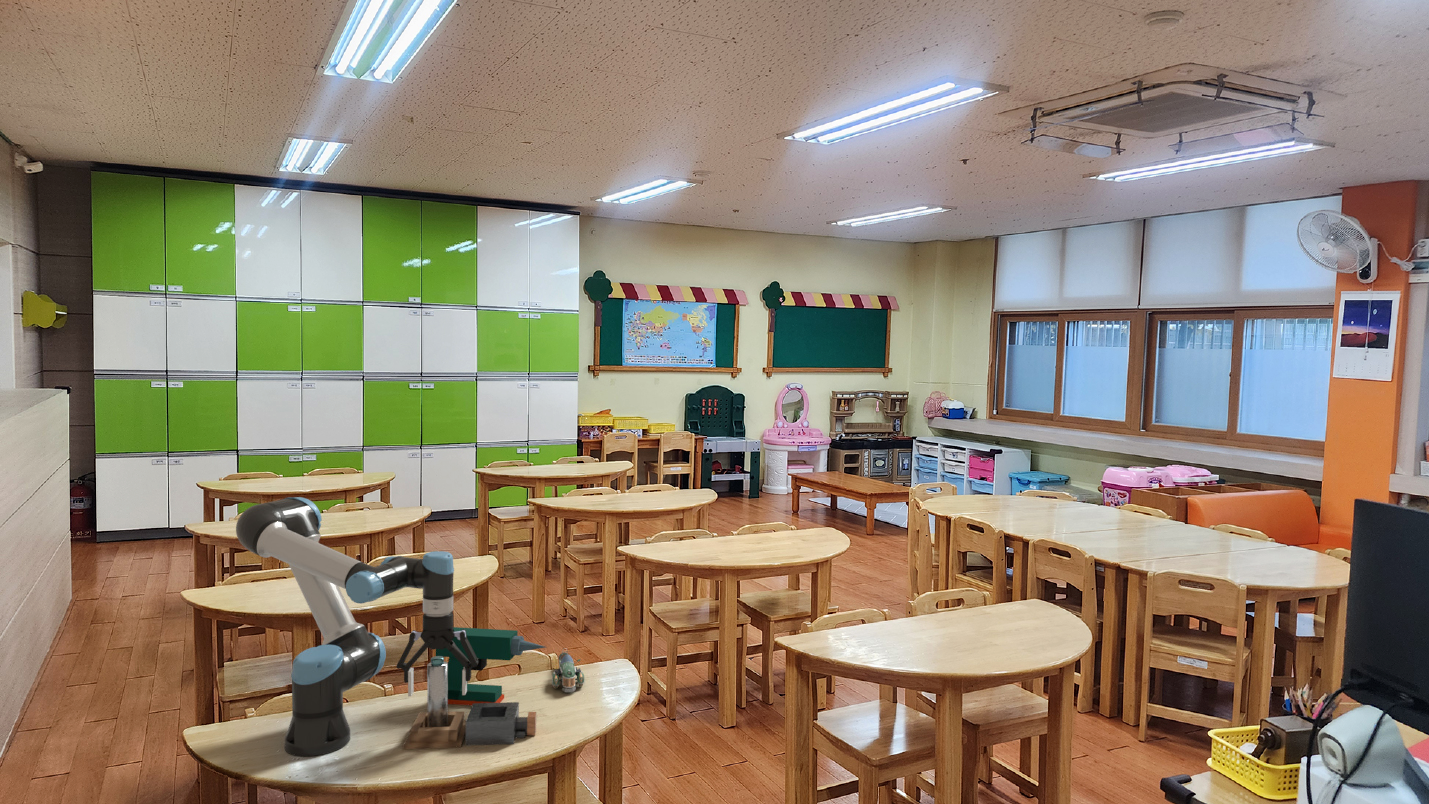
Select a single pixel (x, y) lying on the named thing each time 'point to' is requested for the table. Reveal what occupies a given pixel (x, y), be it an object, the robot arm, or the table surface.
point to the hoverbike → (567, 673)
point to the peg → (437, 692)
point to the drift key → (527, 724)
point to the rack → (437, 733)
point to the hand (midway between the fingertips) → (437, 693)
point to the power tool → (482, 662)
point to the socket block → (492, 724)
